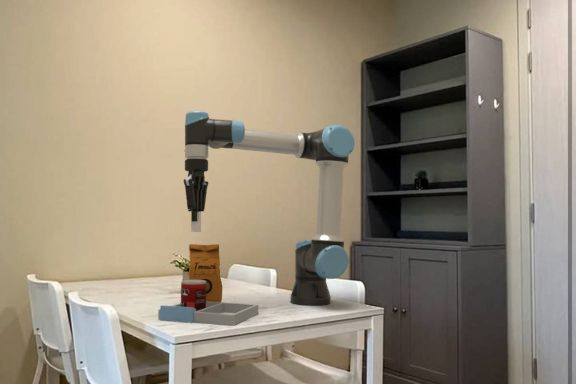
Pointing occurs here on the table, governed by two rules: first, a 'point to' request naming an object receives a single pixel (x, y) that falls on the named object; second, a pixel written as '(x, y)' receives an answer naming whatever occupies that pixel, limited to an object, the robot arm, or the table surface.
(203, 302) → the canned food
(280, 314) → the table surface
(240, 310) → the grey shallow tray
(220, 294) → the coffee package
